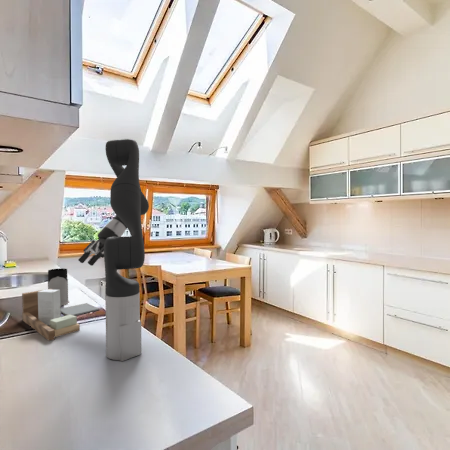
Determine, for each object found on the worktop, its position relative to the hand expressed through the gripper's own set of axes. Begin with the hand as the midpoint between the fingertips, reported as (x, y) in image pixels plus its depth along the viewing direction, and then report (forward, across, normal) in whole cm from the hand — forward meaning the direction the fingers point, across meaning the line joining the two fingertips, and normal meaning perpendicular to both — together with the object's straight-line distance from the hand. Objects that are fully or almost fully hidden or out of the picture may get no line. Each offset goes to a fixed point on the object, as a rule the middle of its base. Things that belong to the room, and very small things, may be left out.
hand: (84, 263), depth 123 cm
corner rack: (+24, +3, +5) cm, 25 cm away
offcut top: (+22, +12, +4) cm, 25 cm away
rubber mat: (+14, -8, +15) cm, 22 cm away
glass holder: (+15, -27, +14) cm, 34 cm away
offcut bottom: (+24, +12, +6) cm, 27 cm away
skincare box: (+24, 0, +5) cm, 24 cm away
